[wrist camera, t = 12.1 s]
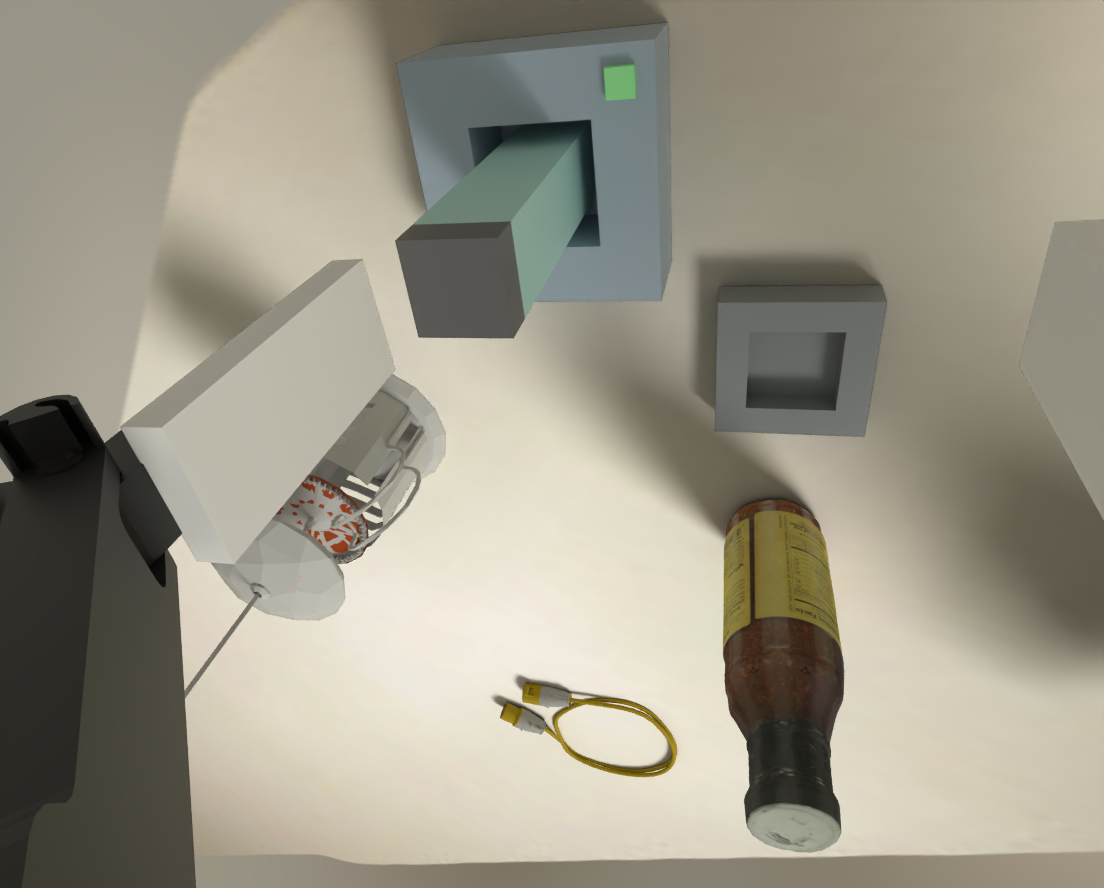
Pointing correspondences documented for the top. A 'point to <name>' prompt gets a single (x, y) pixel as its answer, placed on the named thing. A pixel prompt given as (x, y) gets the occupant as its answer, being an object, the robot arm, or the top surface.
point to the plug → (498, 233)
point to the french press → (337, 510)
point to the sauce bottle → (783, 671)
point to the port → (562, 97)
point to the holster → (797, 358)
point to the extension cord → (562, 698)
